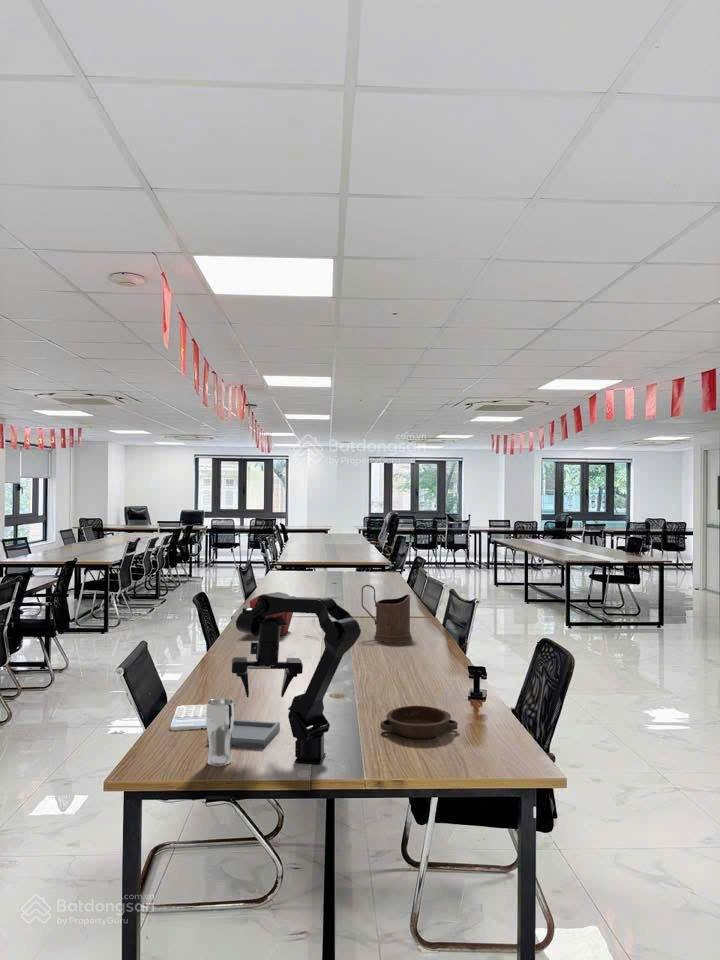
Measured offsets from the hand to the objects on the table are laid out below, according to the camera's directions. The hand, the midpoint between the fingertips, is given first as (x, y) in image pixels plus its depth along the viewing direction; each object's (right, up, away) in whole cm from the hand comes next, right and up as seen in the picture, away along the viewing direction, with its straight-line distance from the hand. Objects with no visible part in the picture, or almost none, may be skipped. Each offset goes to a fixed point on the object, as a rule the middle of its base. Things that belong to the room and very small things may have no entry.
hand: (264, 696), depth 186 cm
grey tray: (-6, -13, +5) cm, 15 cm away
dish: (+42, -14, +11) cm, 46 cm away
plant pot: (-17, -16, +149) cm, 150 cm away
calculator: (-24, -14, +21) cm, 35 cm away
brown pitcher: (+38, -16, +138) cm, 144 cm away
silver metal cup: (-10, -13, -12) cm, 20 cm away
